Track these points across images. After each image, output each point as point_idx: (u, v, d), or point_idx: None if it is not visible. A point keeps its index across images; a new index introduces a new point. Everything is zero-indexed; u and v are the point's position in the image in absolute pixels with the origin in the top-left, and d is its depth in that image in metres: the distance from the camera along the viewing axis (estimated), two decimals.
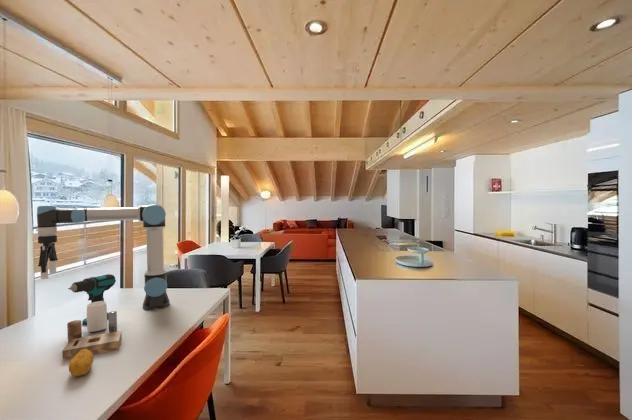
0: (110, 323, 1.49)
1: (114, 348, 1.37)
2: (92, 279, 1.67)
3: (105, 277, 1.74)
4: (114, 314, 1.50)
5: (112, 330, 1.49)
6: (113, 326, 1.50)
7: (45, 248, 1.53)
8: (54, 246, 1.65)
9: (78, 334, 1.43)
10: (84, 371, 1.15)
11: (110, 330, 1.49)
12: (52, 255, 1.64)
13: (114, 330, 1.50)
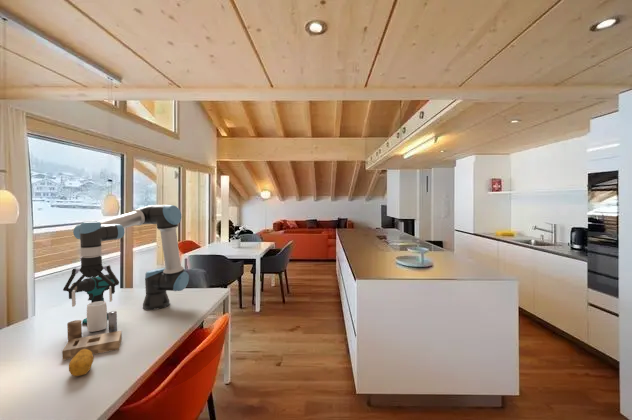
0: (110, 323, 1.49)
1: (114, 348, 1.37)
2: (92, 279, 1.67)
3: None
4: (114, 314, 1.50)
5: (112, 330, 1.49)
6: (113, 326, 1.50)
7: None
8: (108, 270, 1.39)
9: (78, 334, 1.43)
10: (84, 371, 1.15)
11: (110, 330, 1.49)
12: None
13: (114, 330, 1.50)
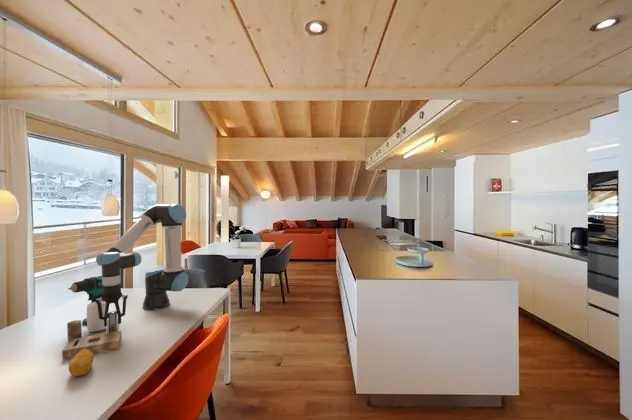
0: (110, 323, 1.49)
1: (114, 348, 1.37)
2: (92, 279, 1.67)
3: None
4: (115, 314, 1.50)
5: (112, 330, 1.49)
6: (113, 326, 1.50)
7: None
8: (124, 299, 1.52)
9: (78, 334, 1.43)
10: (84, 371, 1.15)
11: (110, 330, 1.49)
12: None
13: (114, 330, 1.50)
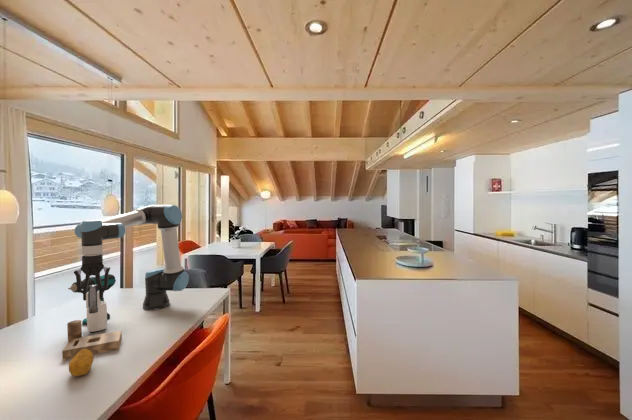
0: (90, 297, 1.36)
1: (114, 348, 1.37)
2: (92, 279, 1.67)
3: None
4: (95, 288, 1.37)
5: (92, 305, 1.37)
6: (93, 300, 1.37)
7: None
8: (106, 272, 1.39)
9: (78, 334, 1.43)
10: (84, 371, 1.15)
11: (90, 305, 1.37)
12: None
13: (94, 305, 1.37)
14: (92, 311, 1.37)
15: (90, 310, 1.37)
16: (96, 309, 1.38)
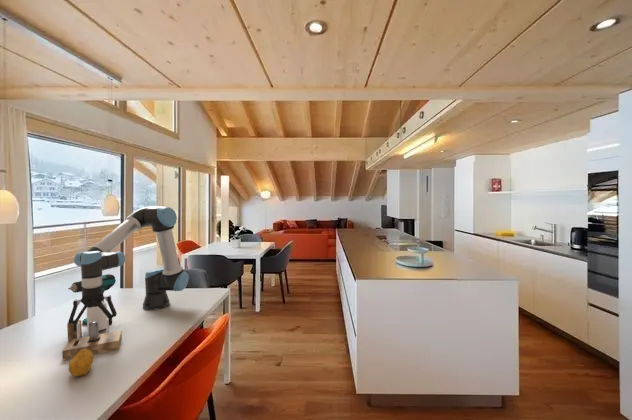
0: (91, 334, 1.37)
1: (114, 348, 1.37)
2: None
3: (105, 277, 1.74)
4: (96, 324, 1.37)
5: None
6: (94, 337, 1.37)
7: None
8: (108, 300, 1.39)
9: None
10: (84, 371, 1.15)
11: None
12: None
13: None
14: None
15: None
16: None
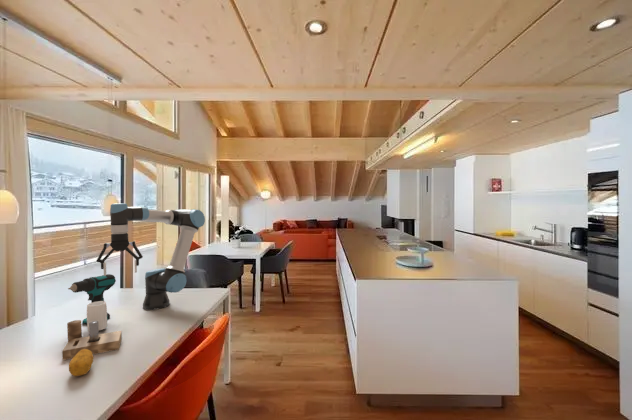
0: (91, 334, 1.37)
1: (114, 348, 1.37)
2: (92, 279, 1.67)
3: (105, 277, 1.74)
4: (96, 324, 1.37)
5: None
6: (94, 337, 1.37)
7: None
8: (133, 245, 1.62)
9: (78, 334, 1.43)
10: (84, 371, 1.15)
11: None
12: None
13: None
14: None
15: None
16: None
